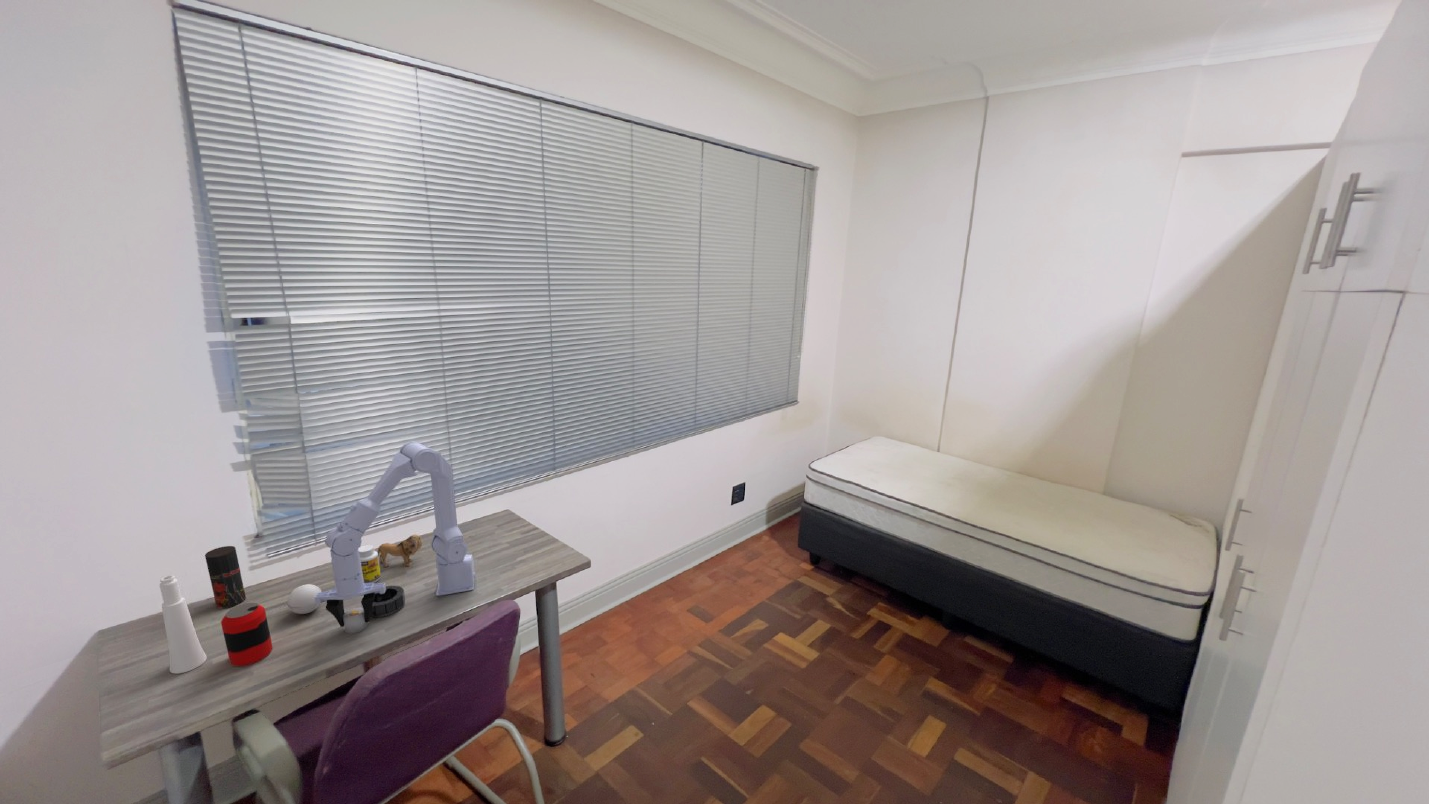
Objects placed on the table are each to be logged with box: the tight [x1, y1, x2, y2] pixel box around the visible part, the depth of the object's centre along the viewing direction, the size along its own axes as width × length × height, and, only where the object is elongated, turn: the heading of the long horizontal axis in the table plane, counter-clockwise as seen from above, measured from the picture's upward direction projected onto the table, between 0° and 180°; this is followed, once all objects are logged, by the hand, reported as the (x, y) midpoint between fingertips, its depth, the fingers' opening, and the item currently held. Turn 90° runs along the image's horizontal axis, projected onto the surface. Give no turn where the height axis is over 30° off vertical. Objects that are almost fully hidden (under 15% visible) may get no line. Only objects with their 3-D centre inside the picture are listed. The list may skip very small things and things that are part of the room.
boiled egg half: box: [343, 607, 369, 634], centre depth 134 cm, size 5×5×4 cm
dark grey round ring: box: [371, 585, 406, 619], centre depth 142 cm, size 9×9×4 cm
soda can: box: [220, 602, 273, 667], centre depth 123 cm, size 8×8×12 cm
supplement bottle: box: [358, 544, 382, 583], centre depth 153 cm, size 6×6×10 cm
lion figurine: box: [376, 533, 423, 568], centre depth 163 cm, size 15×5×9 cm, turn 103°
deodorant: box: [204, 545, 247, 610], centre depth 142 cm, size 6×6×15 cm
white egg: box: [278, 583, 323, 615], centre depth 138 cm, size 10×7×7 cm
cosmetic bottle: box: [159, 574, 208, 675], centre depth 118 cm, size 6×6×22 cm
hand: (355, 622), depth 134 cm, fingers closed on boiled egg half, 5 cm apart
